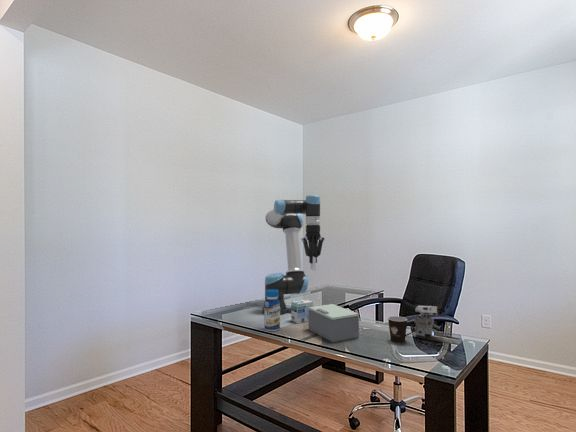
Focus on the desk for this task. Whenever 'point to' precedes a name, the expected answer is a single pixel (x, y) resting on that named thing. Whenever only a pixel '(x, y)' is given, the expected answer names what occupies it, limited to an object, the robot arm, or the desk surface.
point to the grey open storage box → (334, 327)
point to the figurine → (425, 321)
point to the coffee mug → (398, 328)
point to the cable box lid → (333, 311)
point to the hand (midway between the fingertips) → (313, 269)
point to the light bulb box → (300, 311)
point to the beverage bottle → (272, 310)
